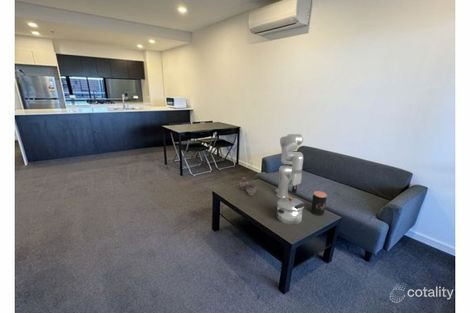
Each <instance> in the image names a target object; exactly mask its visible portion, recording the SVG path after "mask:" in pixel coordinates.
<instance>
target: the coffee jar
mask: <svg viewBox="0 0 470 313" xmlns="http://www.w3.org/2000/svg"><path fill="white" fill-rule="evenodd" d="M327 195H328V194H327V193H325V192H324V191H320V190H319V191H318V190H316V191H313V195H312V201H311V207H310V208H311V209H310V212H311V214H313V215H314V214H315V216H318V215H321V216H323V215H324V214H325V208H326V204H327Z"/></svg>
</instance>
